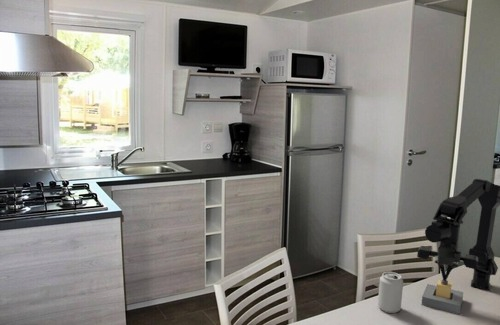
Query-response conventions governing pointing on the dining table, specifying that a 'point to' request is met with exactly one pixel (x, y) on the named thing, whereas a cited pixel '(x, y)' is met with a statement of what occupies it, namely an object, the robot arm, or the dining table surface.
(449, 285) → the plug
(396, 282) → the can
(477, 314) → the dining table surface
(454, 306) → the socket
